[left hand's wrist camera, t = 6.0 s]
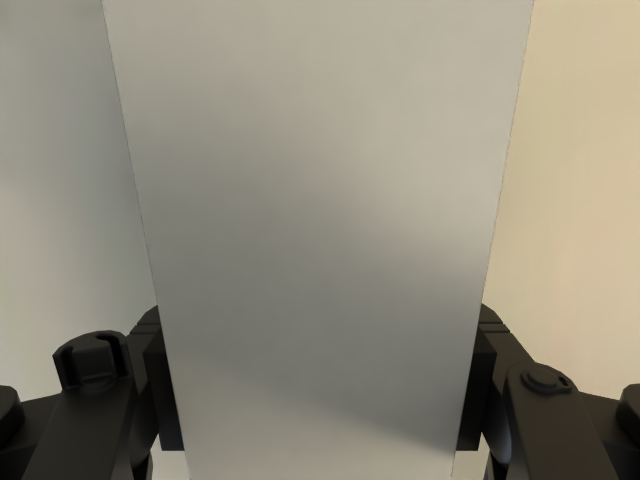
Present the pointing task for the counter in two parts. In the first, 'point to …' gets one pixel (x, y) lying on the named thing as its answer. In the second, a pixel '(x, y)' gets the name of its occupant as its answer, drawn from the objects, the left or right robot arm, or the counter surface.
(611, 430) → the left robot arm
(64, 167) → the counter surface
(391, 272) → the bar
